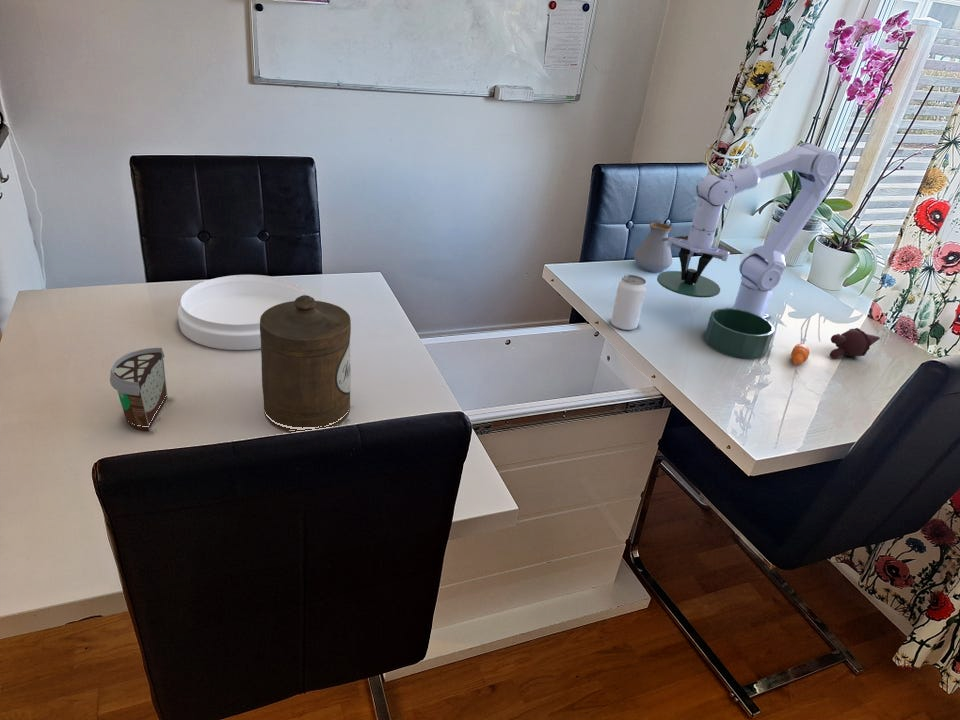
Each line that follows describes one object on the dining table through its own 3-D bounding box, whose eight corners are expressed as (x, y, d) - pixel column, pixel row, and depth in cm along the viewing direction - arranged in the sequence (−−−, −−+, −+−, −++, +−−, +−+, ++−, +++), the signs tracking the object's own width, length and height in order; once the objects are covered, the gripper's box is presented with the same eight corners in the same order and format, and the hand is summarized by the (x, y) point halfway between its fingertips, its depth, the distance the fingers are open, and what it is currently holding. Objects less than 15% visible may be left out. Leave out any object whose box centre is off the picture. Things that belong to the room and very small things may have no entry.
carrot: (795, 354, 159) (793, 340, 158) (811, 353, 157) (810, 339, 156) (789, 370, 152) (787, 355, 151) (806, 369, 150) (805, 354, 149)
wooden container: (363, 421, 117) (365, 308, 106) (280, 443, 110) (273, 323, 99) (331, 380, 128) (330, 274, 117) (253, 398, 120) (244, 285, 109)
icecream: (867, 320, 164) (819, 329, 159) (894, 327, 157) (845, 336, 153) (864, 347, 166) (817, 357, 161) (891, 355, 159) (842, 365, 155)
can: (637, 332, 160) (648, 286, 154) (609, 328, 160) (619, 282, 155) (636, 321, 165) (647, 276, 159) (610, 317, 166) (620, 272, 160)
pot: (721, 325, 169) (728, 303, 166) (776, 347, 160) (784, 325, 157) (693, 340, 159) (699, 317, 156) (749, 365, 151) (757, 341, 148)
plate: (296, 290, 161) (295, 269, 159) (324, 341, 141) (323, 318, 138) (174, 301, 150) (171, 278, 147) (185, 358, 129) (182, 333, 127)
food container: (133, 394, 117) (124, 344, 113) (170, 395, 118) (163, 346, 113) (106, 436, 107) (94, 382, 102) (146, 437, 108) (137, 384, 103)
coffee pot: (624, 260, 203) (635, 212, 196) (657, 259, 207) (668, 212, 199) (662, 289, 186) (675, 237, 178) (696, 287, 189) (711, 237, 182)
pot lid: (676, 270, 176) (680, 254, 174) (730, 290, 167) (735, 274, 165) (644, 282, 166) (648, 266, 164) (699, 305, 157) (704, 288, 155)
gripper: (669, 224, 159) (656, 277, 165) (730, 239, 153) (714, 293, 160) (677, 217, 164) (664, 269, 171) (736, 232, 158) (721, 284, 165)
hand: (689, 280), depth 166 cm, fingers closed on pot lid, 2 cm apart
